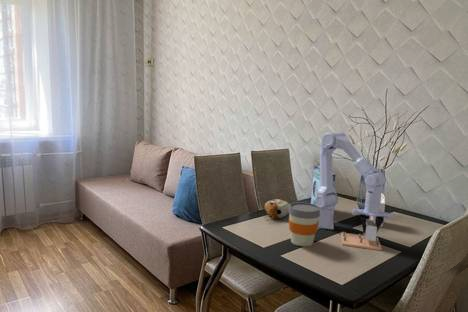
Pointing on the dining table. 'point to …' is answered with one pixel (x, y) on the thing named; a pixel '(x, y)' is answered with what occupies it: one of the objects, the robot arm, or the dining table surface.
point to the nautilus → (277, 208)
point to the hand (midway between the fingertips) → (369, 232)
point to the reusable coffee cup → (303, 223)
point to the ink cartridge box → (382, 208)
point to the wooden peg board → (359, 241)
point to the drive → (370, 230)
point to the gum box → (317, 183)
